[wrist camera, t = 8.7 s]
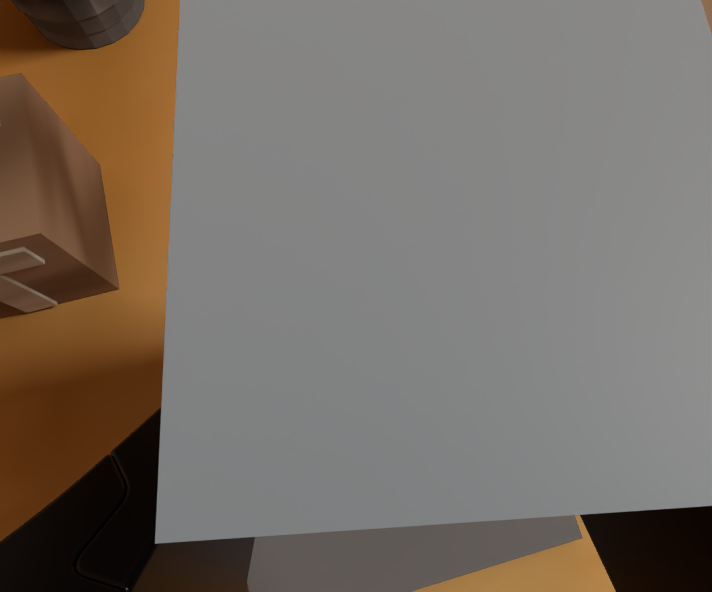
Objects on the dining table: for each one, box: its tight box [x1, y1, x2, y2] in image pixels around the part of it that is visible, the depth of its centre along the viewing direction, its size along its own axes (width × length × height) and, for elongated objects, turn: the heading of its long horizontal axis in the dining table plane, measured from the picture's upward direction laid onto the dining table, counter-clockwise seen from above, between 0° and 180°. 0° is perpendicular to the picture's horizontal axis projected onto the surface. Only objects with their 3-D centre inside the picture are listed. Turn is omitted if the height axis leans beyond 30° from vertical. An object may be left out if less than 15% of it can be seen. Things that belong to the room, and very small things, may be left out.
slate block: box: [155, 0, 712, 544], centre depth 10 cm, size 4×4×12 cm
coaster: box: [247, 515, 582, 592], centre depth 17 cm, size 12×10×1 cm
